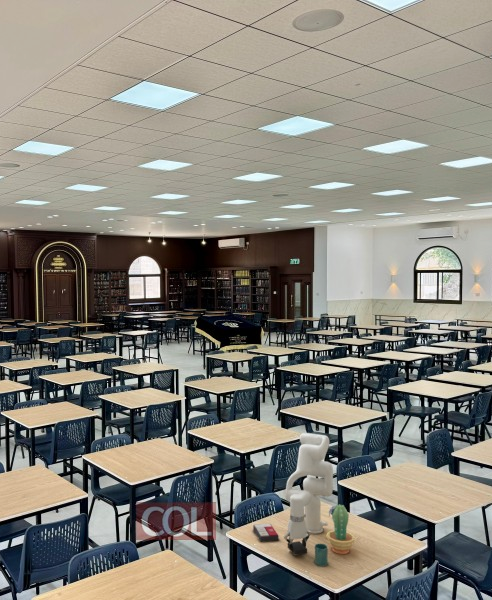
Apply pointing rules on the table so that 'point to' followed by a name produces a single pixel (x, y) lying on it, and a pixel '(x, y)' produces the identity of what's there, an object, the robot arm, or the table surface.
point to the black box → (298, 548)
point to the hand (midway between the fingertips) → (297, 548)
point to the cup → (321, 554)
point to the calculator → (265, 532)
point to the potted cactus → (340, 530)
